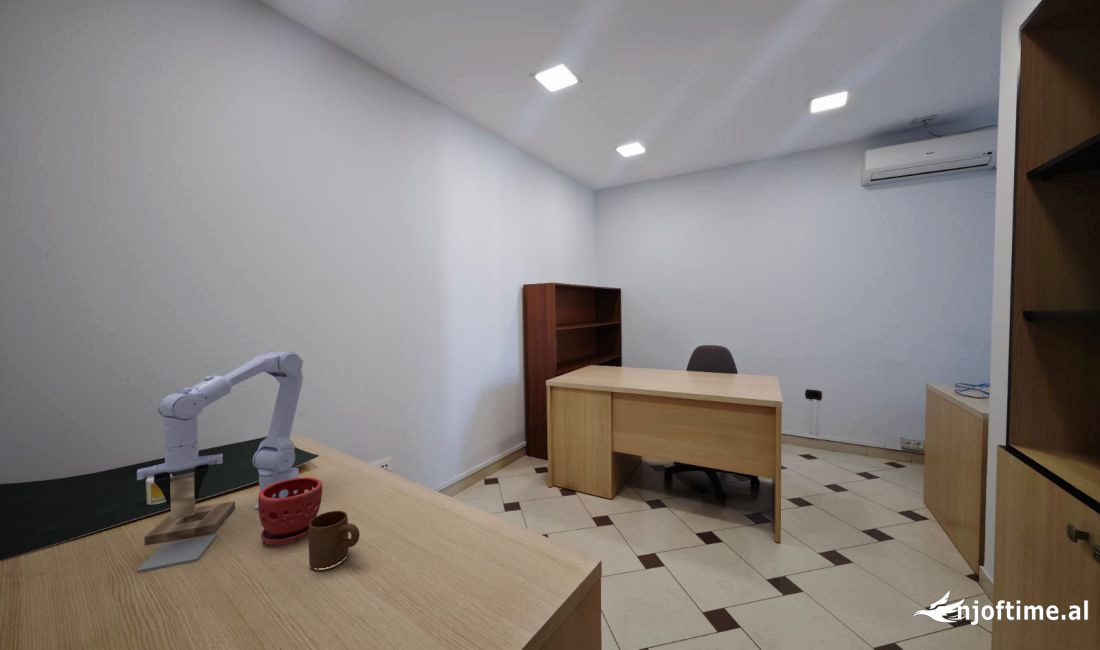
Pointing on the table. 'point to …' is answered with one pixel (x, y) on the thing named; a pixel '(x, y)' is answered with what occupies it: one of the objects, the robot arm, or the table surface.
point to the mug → (330, 538)
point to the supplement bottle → (153, 492)
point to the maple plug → (182, 495)
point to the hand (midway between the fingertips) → (183, 500)
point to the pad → (178, 553)
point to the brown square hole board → (191, 523)
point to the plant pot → (288, 509)
